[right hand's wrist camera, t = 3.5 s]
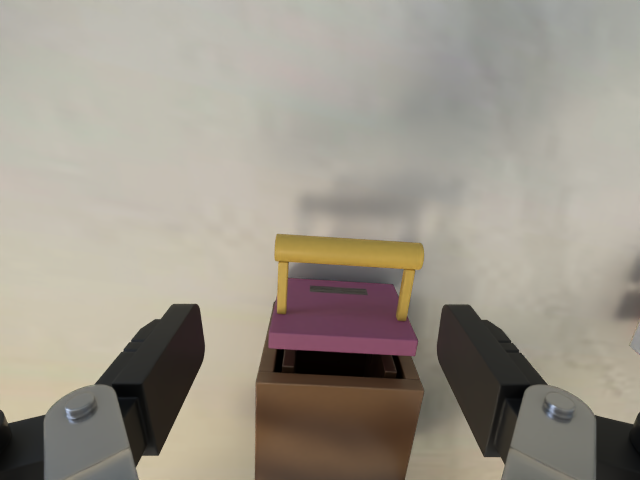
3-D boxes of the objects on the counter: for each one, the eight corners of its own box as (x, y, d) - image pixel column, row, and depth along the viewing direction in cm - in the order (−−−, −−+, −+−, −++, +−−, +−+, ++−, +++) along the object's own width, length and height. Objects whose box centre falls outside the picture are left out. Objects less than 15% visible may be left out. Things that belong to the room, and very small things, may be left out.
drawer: (283, 212, 26) (270, 248, 19) (403, 220, 26) (435, 258, 19) (275, 421, 33) (264, 504, 26) (370, 425, 33) (384, 509, 26)
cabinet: (273, 301, 30) (255, 382, 21) (393, 308, 30) (425, 390, 21) (270, 443, 35) (254, 554, 26) (370, 448, 36) (387, 559, 27)
